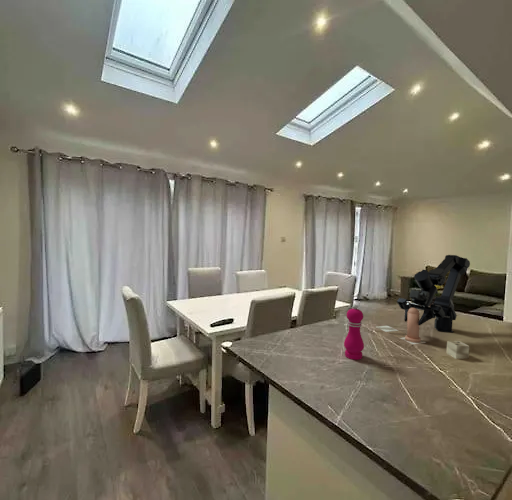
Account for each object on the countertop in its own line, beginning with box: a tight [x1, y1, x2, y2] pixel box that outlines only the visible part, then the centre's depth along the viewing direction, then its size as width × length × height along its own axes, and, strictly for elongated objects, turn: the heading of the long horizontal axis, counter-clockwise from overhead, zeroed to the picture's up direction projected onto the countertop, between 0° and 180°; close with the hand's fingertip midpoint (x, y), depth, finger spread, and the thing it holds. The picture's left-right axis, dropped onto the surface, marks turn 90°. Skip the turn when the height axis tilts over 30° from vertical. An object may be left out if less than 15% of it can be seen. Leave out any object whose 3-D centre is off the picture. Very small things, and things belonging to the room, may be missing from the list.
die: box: [446, 340, 470, 360], centre depth 113 cm, size 5×5×5 cm
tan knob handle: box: [404, 308, 422, 342], centre depth 128 cm, size 6×6×14 cm
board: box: [375, 325, 427, 347], centre depth 136 cm, size 25×9×1 cm, turn 17°
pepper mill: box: [343, 304, 365, 361], centre depth 111 cm, size 7×7×20 cm
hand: (411, 322), depth 127 cm, fingers open, 6 cm apart
